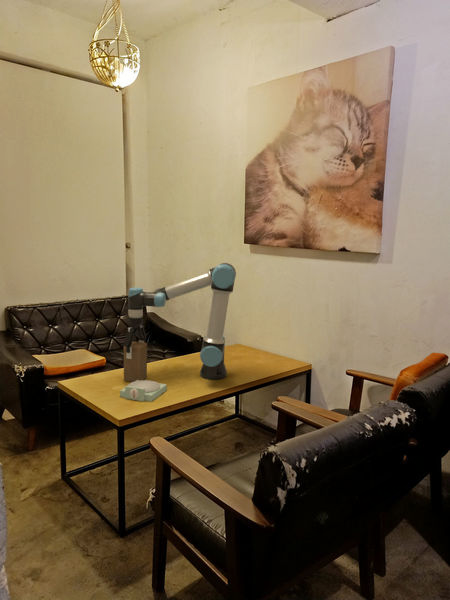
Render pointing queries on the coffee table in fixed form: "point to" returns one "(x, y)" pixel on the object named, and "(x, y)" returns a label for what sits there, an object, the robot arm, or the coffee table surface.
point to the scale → (143, 390)
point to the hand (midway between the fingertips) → (135, 355)
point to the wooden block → (136, 362)
